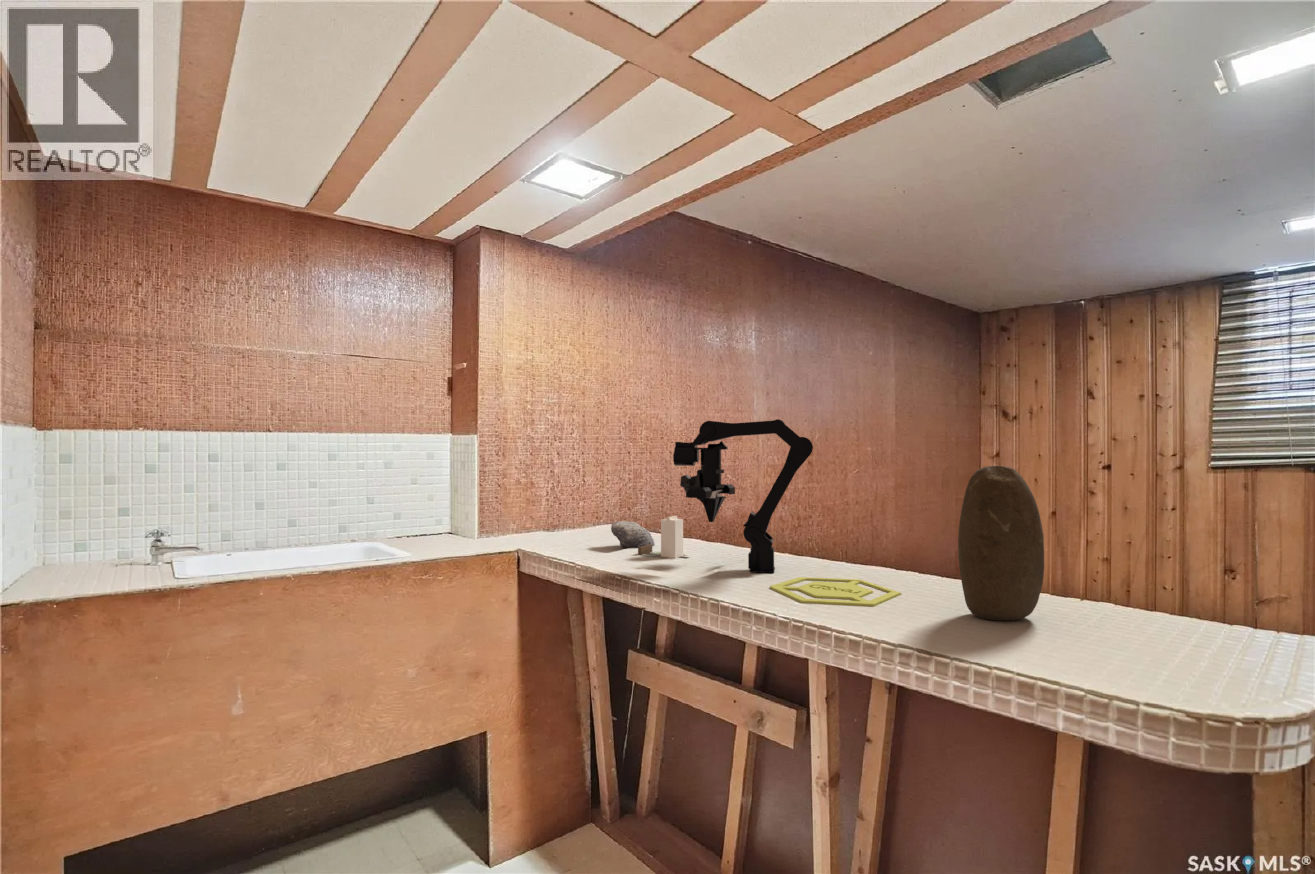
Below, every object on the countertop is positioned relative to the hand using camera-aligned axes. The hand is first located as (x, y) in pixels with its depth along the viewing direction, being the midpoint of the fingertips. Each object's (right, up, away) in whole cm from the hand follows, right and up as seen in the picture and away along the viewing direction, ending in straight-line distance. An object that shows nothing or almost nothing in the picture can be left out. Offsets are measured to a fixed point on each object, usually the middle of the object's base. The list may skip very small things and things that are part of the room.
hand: (711, 521), depth 176 cm
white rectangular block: (-11, -12, +12) cm, 20 cm away
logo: (+27, -13, -28) cm, 41 cm away
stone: (+53, -12, -51) cm, 75 cm away
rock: (-23, -14, +36) cm, 45 cm away
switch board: (-13, -13, +14) cm, 23 cm away
